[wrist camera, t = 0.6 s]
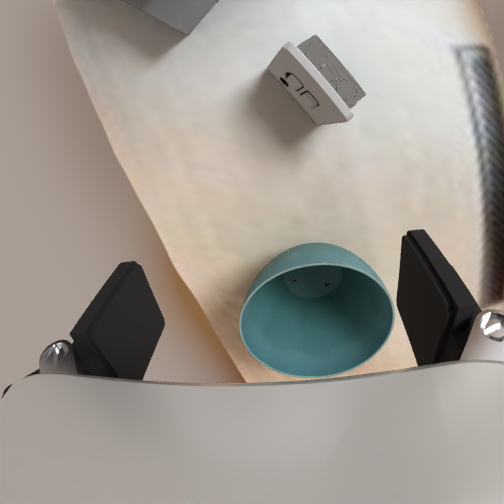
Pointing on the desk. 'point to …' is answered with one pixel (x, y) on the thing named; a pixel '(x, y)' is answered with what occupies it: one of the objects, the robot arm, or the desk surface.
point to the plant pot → (316, 312)
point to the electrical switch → (317, 81)
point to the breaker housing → (176, 11)
